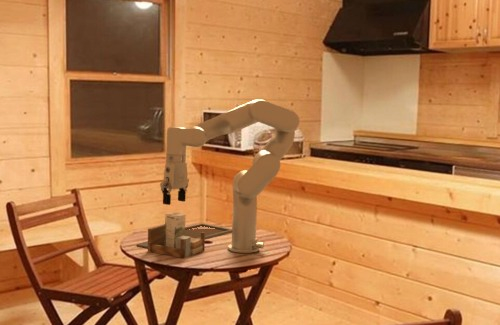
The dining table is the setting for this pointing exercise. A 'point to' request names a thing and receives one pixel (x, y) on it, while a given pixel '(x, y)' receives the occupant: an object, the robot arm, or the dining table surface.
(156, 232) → the brown wooden open box
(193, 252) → the offcut slab
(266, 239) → the dining table surface
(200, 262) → the dining table surface
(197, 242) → the offcut slab
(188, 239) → the offcut block
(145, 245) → the mat
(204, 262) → the dining table surface
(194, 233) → the brown framed board
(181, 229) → the syrup box
